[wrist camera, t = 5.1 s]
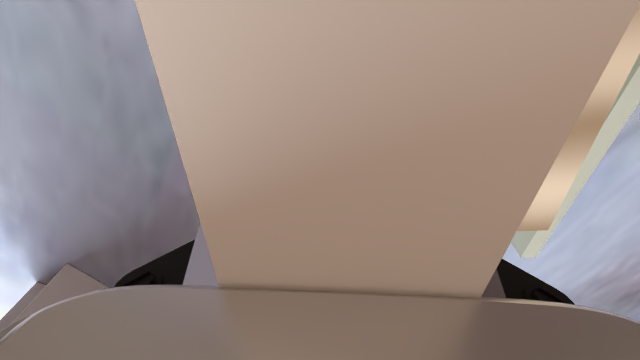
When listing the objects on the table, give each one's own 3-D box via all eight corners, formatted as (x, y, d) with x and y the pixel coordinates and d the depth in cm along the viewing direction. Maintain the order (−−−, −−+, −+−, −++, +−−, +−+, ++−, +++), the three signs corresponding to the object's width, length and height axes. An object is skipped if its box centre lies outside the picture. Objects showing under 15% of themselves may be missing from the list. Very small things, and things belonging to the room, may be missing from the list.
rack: (516, 230, 22) (535, 257, 19) (261, 222, 22) (254, 248, 20) (705, -105, 11) (789, -123, 9) (214, -110, 12) (189, -128, 9)
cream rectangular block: (363, 245, 18) (387, 467, 10) (299, 243, 18) (270, 460, 10) (402, -33, 10) (692, -93, 2) (288, -34, 10) (105, -98, 2)
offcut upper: (529, 207, 19) (548, 230, 17) (448, 210, 19) (459, 232, 17) (628, -20, 12) (676, -18, 10) (497, -7, 12) (522, -4, 10)
